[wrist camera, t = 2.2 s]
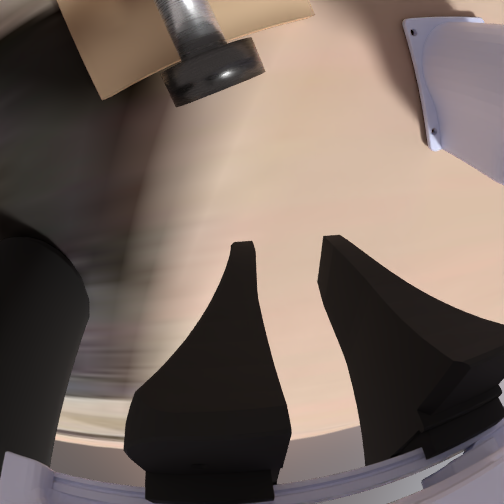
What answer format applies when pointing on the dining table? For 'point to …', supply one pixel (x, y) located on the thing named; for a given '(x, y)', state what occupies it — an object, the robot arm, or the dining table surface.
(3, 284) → the coffee jar
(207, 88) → the shaft
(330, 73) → the dining table surface
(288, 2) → the base board
